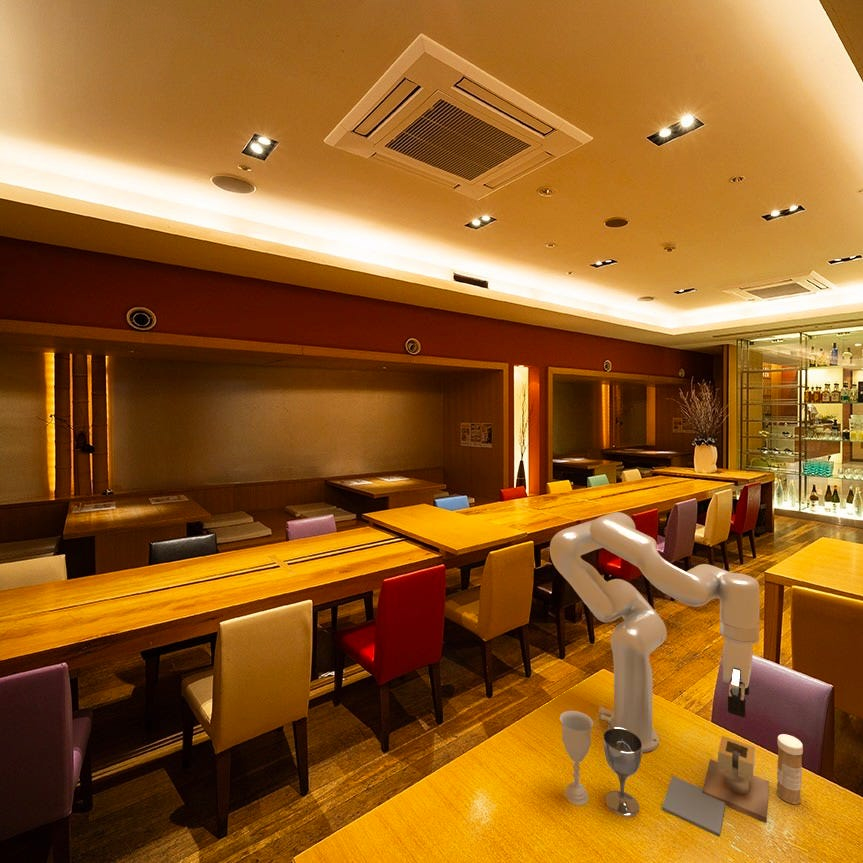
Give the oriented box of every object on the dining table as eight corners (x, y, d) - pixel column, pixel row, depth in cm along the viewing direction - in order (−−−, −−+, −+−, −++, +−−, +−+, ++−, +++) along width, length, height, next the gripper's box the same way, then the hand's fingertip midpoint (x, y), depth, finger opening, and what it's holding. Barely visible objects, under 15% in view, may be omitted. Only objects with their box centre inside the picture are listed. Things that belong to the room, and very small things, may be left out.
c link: (717, 768, 108) (718, 751, 108) (721, 751, 114) (721, 735, 113) (752, 781, 104) (752, 764, 104) (754, 763, 110) (755, 747, 109)
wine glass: (595, 796, 109) (595, 733, 108) (622, 784, 112) (622, 723, 111) (622, 824, 101) (622, 757, 101) (649, 811, 105) (650, 745, 104)
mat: (662, 809, 105) (662, 807, 105) (672, 778, 113) (672, 775, 113) (719, 836, 98) (719, 833, 98) (726, 800, 107) (726, 798, 107)
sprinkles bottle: (777, 785, 111) (779, 730, 110) (802, 796, 108) (804, 739, 107) (774, 797, 107) (776, 740, 107) (800, 809, 104) (801, 750, 103)
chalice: (558, 803, 107) (558, 726, 106) (561, 780, 113) (561, 708, 112) (593, 812, 104) (592, 733, 103) (593, 788, 111) (593, 714, 110)
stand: (702, 795, 108) (702, 757, 108) (709, 763, 118) (710, 728, 117) (766, 822, 101) (767, 782, 100) (769, 786, 110) (769, 749, 110)
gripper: (724, 612, 116) (724, 680, 117) (714, 640, 103) (714, 717, 103) (761, 620, 112) (761, 690, 113) (756, 650, 98) (756, 730, 99)
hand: (738, 703), depth 108 cm, fingers open, 9 cm apart
